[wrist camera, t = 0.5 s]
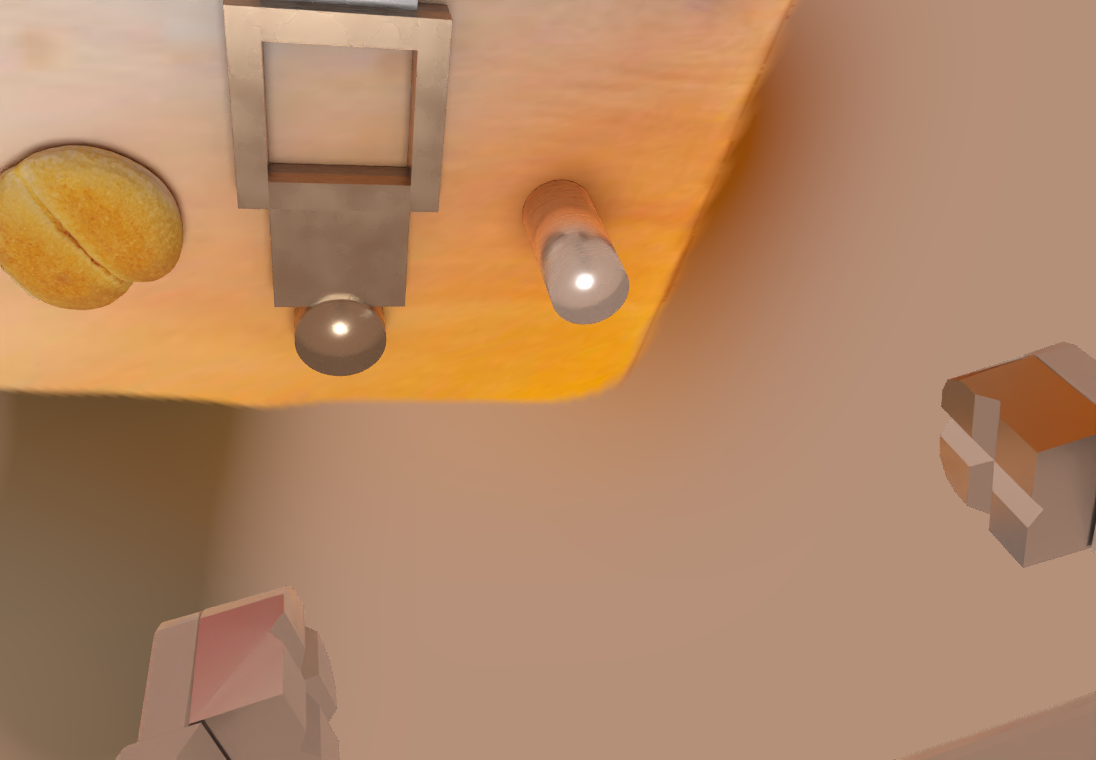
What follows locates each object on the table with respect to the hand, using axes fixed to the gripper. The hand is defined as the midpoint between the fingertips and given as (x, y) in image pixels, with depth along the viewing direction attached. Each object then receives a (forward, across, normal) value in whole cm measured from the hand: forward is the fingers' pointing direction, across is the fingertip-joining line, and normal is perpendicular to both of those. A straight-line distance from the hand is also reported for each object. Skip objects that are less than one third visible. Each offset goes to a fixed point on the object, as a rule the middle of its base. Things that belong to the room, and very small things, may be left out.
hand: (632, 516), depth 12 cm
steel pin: (+41, -6, +16) cm, 44 cm away
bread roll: (+41, +18, +9) cm, 46 cm away
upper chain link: (+41, +6, +11) cm, 43 cm away
